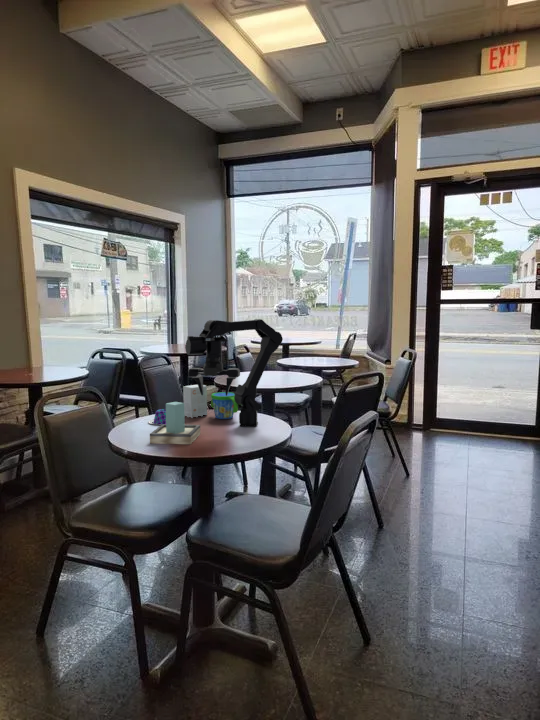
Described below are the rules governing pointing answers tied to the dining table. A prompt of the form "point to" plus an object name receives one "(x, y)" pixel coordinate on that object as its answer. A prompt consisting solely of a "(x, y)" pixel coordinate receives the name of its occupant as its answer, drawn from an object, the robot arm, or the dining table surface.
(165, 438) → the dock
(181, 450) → the dining table surface
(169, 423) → the teal block
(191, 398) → the small box
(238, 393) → the robot arm
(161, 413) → the checkered hat
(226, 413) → the snack cup
